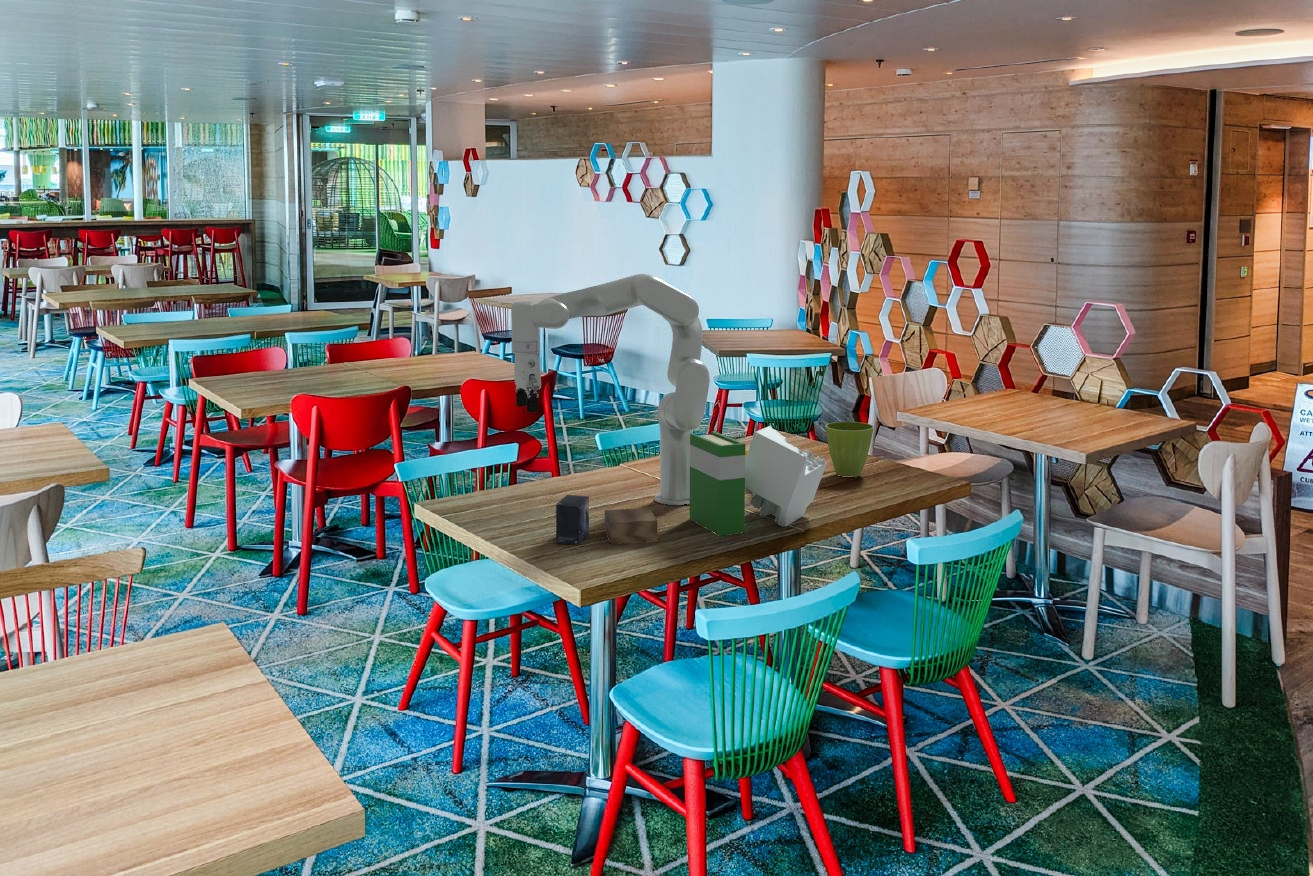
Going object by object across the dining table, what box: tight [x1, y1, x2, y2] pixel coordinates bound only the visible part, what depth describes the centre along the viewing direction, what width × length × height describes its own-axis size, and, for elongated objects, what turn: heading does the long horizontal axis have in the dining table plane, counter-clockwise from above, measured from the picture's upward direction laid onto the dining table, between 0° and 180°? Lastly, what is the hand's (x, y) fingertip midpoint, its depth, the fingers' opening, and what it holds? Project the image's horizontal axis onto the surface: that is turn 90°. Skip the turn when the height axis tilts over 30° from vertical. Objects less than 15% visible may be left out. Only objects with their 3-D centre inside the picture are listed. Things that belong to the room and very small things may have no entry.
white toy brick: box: [745, 425, 828, 528], centre depth 314 cm, size 20×16×25 cm
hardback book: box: [689, 430, 747, 537], centre depth 308 cm, size 18×7×24 cm, turn 24°
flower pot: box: [825, 421, 874, 477], centre depth 365 cm, size 15×15×16 cm
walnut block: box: [604, 507, 658, 545], centre depth 301 cm, size 12×12×6 cm
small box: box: [555, 494, 590, 546], centre depth 298 cm, size 11×6×10 cm, turn 168°
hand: (527, 409), depth 318 cm, fingers open, 9 cm apart
